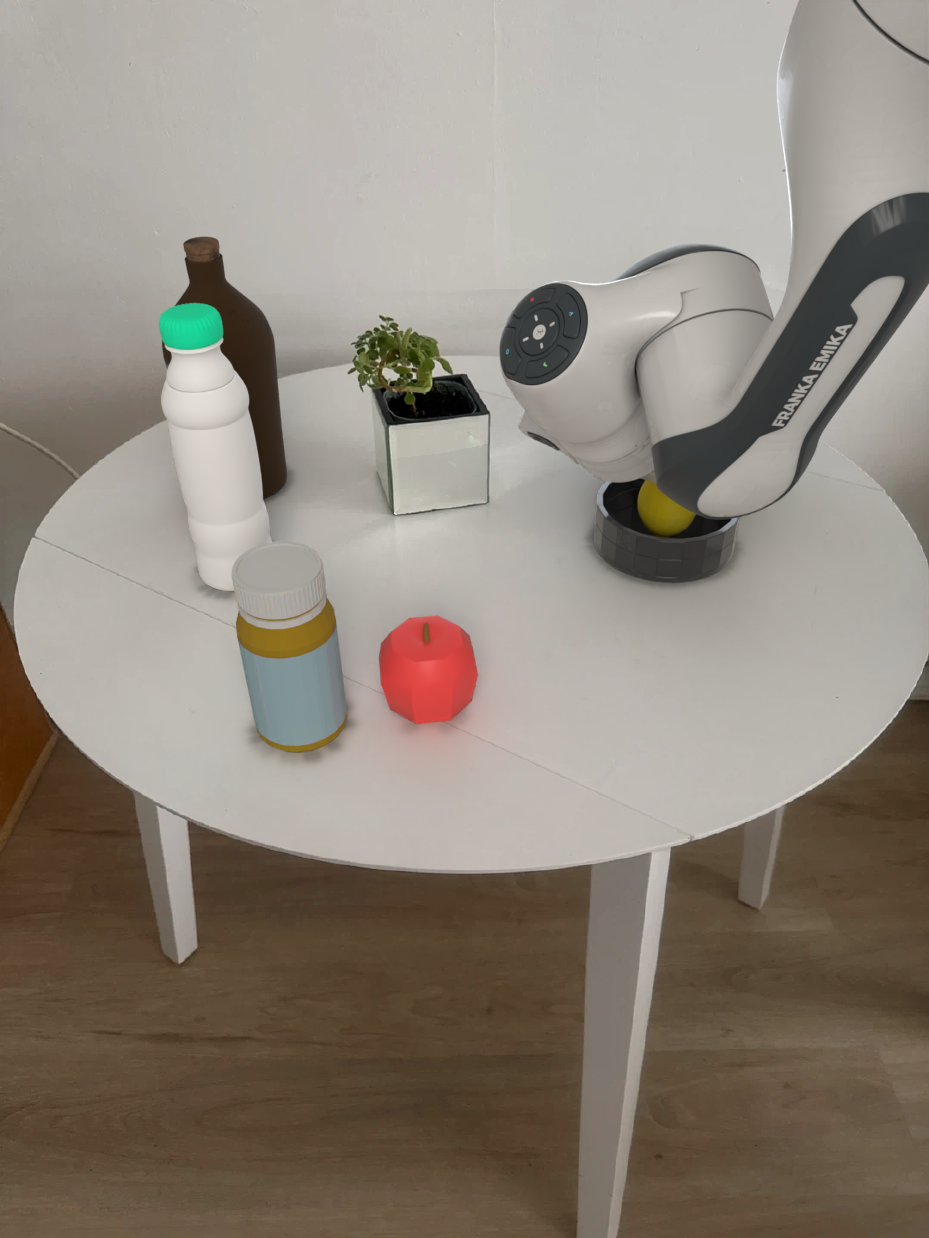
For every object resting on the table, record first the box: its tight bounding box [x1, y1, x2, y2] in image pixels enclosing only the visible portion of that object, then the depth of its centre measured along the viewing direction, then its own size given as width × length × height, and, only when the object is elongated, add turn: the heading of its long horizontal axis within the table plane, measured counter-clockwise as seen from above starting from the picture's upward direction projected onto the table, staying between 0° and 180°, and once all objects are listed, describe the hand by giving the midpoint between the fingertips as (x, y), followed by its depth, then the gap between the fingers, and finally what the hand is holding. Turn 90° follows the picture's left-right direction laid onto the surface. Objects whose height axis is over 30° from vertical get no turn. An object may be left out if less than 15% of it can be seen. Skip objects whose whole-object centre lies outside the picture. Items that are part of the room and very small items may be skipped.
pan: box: [593, 478, 741, 584], centre depth 94 cm, size 13×13×4 cm
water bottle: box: [158, 303, 273, 592], centre depth 85 cm, size 7×7×25 cm
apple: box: [378, 614, 479, 725], centre depth 76 cm, size 8×8×8 cm
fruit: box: [638, 480, 696, 538], centre depth 93 cm, size 6×6×8 cm
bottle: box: [231, 540, 348, 754], centre depth 72 cm, size 7×7×15 cm
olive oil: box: [161, 236, 288, 500], centre depth 98 cm, size 11×11×25 cm
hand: (669, 480), depth 91 cm, fingers open, 8 cm apart
